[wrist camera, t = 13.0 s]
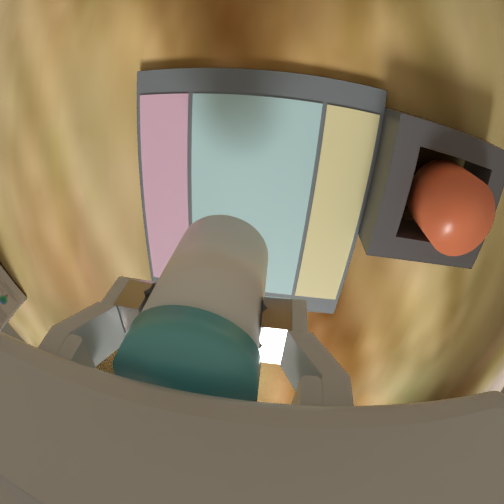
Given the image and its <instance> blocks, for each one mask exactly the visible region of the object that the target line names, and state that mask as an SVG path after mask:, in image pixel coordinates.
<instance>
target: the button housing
mask: <svg viewBox="0 0 504 504" xmlns="http://www.w3.org/2000/svg"><path fill="white" fill-rule="evenodd" d="M420 146H421V147H424V148H428V149H431V150H434V151H438V152H441V153H444V154H447V155H451V156H454V157H457V158H460V159H463V160H466V162H465V166H464V169H466V170H467V171H469V172H470V173H472V174H473V175H475V176H476V177H477V178H479V179H480V180H482V181H483V182H484V183H485V184H487V185H488V187H489V188H490V190H491V192H492V194H493V196H494V200H495V211H496V208H497V206H498V203H499V200H500V197H501V194H502V190H503V187H504V150H503V149H501V148H499V147H497V146H495V145H493V144H491V143H489V142H487V141H484V140H482V139H480V138H477V137H475V136H472V135H470V134H467V133H465V132H462V131H459V130H457V129H454V128H451V127H448V126H446V125H443V124H440V123H437V122H434V121H431V120H428V119H424V118H421V117H418V116H415V115H411V114H408V113H404V112H401V111H397V110H393V109H389V108H385V111H384V117H383V123H382V129H381V134H380V140H379V145H378V150H377V155H376V160H375V165H374V170H373V174H372V179H371V183H370V188H369V192H368V196H367V201H366V205H365V209H364V213H363V217H362V221H361V224H360V228H359V232H358V234H359V237H360V239H361V242H362V245H363V247H364V250H365V252H366V255H371V256H378V257H386V258H394V259H401V260H409V261H417V262H424V263H432V264H439V265H446V266H454V267H461V268H468V269H472V267H473V264H474V262H475V260H476V258H477V256H478V254H479V251H480V249H481V247H482V244H483V242H484V240H485V239H484V240H483V241H482V243H481V244H480V245H478V246H477V247H476V248H475V249H473V250H472V251H470V252H468V253H466V254H463V255H460V256H447V255H444V254H442V253H440V252H438V251H437V250H436V249H435V248H434V246H433V245H432V244H431V242H430V241H429V239H428V238H427V237H426V235H425V234H424V232H423V231H422V230H421V228H420V227H419V226H418V224H417V223H416V222H415V220H414V219H411V218H405V217H402V215H403V212H404V208H405V205H406V201H407V198H408V194H409V191H410V187H411V183H412V179H413V175H414V171H415V167H416V163H417V159H418V155H419V150H420Z"/></svg>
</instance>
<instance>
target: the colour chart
mask: <svg viewBox="0 0 504 504" xmlns="http://www.w3.org/2000/svg"><path fill="white" fill-rule="evenodd" d="M386 98H387V91H386V90H382V89H378V88H374V87H370V86H366V85H361V84H357V83H352V82H347V81H342V80H337V79H331V78H325V77H319V76H313V75H306V74H298V73H290V72H281V71H270V70H257V69H239V68H179V69H161V70H148V71H138V72H137V134H138V157H139V173H140V186H141V198H142V208H143V218H144V227H145V235H146V243H147V251H148V258H149V265H150V271H151V278H152V282H155V283H157V281H158V279H159V277H160V276H161V274H162V272H163V270H164V268H165V266H166V265H167V263H168V261H169V259H170V258H171V256H172V254H173V252H174V250H175V249H176V247H177V245H178V243H179V242H180V240H181V238H182V236H183V235H184V233H185V231H186V230H187V229H188V227H189V226H190V225H191V224H193V223H194V222H195V221H197V220H199V219H201V218H203V217H206V216H210V215H229V216H233V217H237V218H239V219H242V220H244V221H245V222H247V223H249V224H250V225H252V226H253V227H254V228H255V229H256V230H257V231H258V232H259V233H260V234H261V236H262V237H263V239H264V241H265V243H266V246H267V249H268V267H267V278H266V288H265V296H271V297H281V298H291V299H292V298H296V299H305V300H306V303H307V311H310V312H320V313H331V314H334V311H335V308H336V305H337V302H338V299H339V296H340V293H341V290H342V286H343V283H344V280H345V277H346V274H347V270H348V267H349V264H350V260H351V257H352V253H353V250H354V246H355V243H356V239H357V236H358V232H359V228H360V224H361V221H362V217H363V213H364V209H365V205H366V201H367V196H368V192H369V188H370V183H371V179H372V174H373V170H374V165H375V160H376V155H377V150H378V145H379V140H380V134H381V129H382V123H383V117H384V111H385V105H386Z"/></svg>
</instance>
